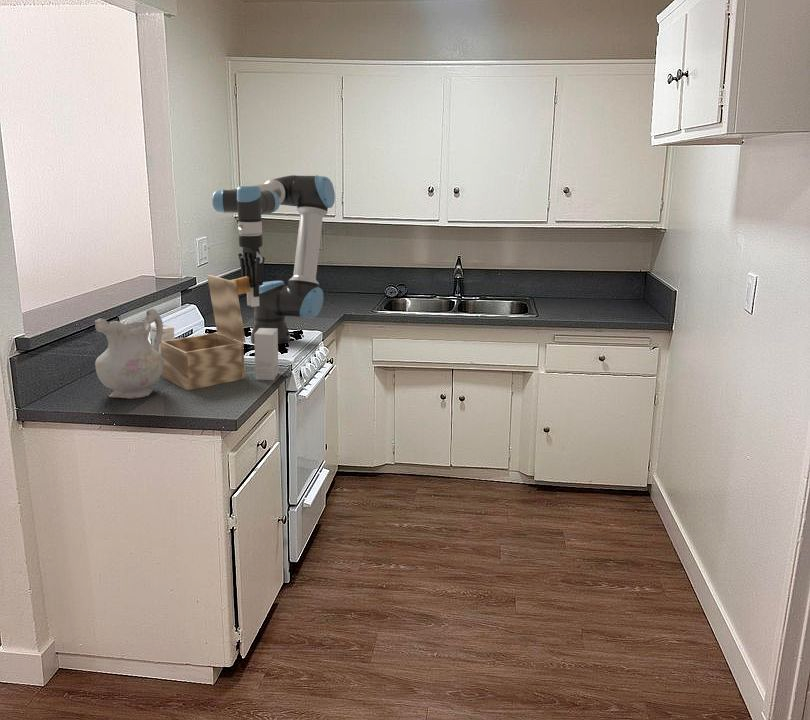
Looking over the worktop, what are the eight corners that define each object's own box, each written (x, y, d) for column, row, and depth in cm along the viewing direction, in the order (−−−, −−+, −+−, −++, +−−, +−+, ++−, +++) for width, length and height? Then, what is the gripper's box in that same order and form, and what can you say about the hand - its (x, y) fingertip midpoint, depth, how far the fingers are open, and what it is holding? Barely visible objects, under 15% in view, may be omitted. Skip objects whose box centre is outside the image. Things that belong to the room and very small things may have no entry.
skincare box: (260, 372, 254) (258, 327, 249) (280, 373, 253) (278, 327, 249) (254, 380, 246) (252, 333, 241) (275, 380, 245) (273, 333, 241)
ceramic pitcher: (137, 382, 245) (125, 306, 239) (186, 385, 238) (175, 307, 232) (86, 402, 226) (72, 320, 220) (138, 406, 218) (125, 321, 212)
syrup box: (166, 364, 262) (163, 323, 258) (176, 368, 258) (174, 326, 254) (152, 368, 258) (148, 326, 254) (162, 371, 254) (159, 329, 250)
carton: (218, 366, 260) (216, 332, 257) (244, 378, 247) (243, 343, 244) (162, 377, 247) (160, 341, 244) (187, 390, 234) (184, 352, 231)
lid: (217, 332, 257) (242, 325, 263) (243, 342, 244) (269, 334, 250) (206, 275, 250) (233, 268, 256) (233, 282, 237) (260, 275, 243)
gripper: (228, 233, 250) (232, 303, 257) (251, 237, 239) (254, 310, 246) (249, 232, 255) (252, 300, 261) (272, 235, 244) (274, 307, 250)
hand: (253, 305), depth 253 cm, fingers closed
